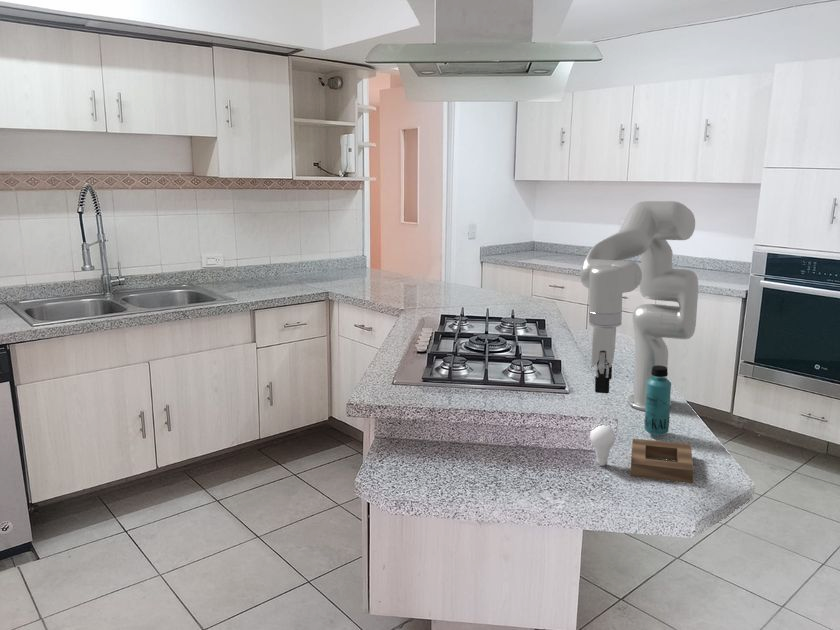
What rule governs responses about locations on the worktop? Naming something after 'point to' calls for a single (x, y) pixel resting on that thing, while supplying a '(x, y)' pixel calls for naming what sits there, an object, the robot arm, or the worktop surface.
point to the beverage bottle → (658, 402)
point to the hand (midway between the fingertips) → (603, 385)
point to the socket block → (659, 468)
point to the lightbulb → (602, 442)
